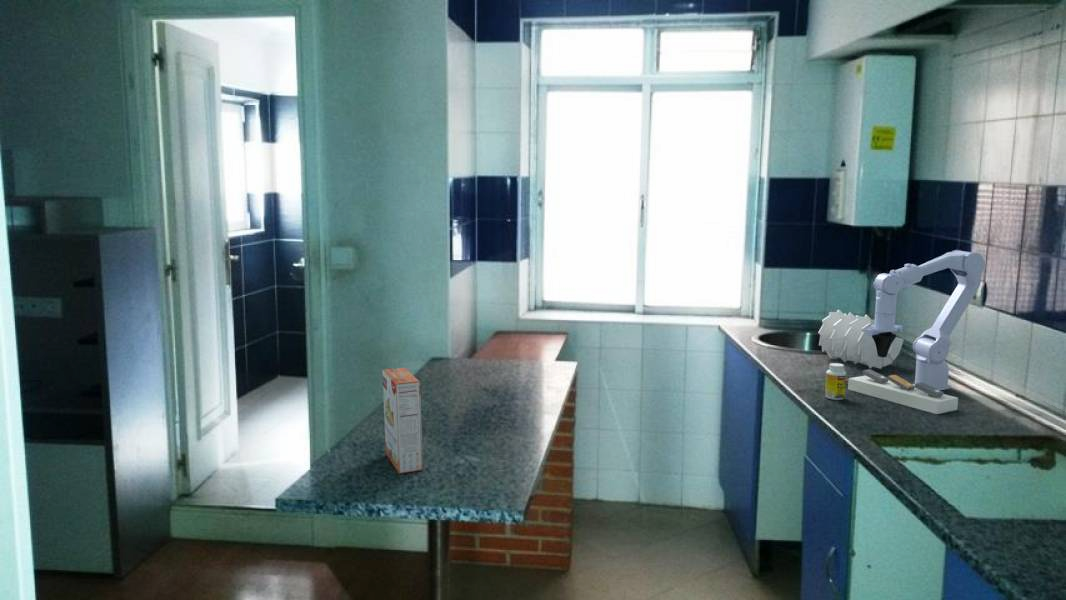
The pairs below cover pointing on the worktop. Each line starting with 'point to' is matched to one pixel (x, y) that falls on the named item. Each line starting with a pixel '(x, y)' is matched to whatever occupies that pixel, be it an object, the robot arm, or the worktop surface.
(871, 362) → the white ribbed cylinder
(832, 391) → the supplement bottle
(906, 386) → the orange flat bar
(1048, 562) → the worktop surface
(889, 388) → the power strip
